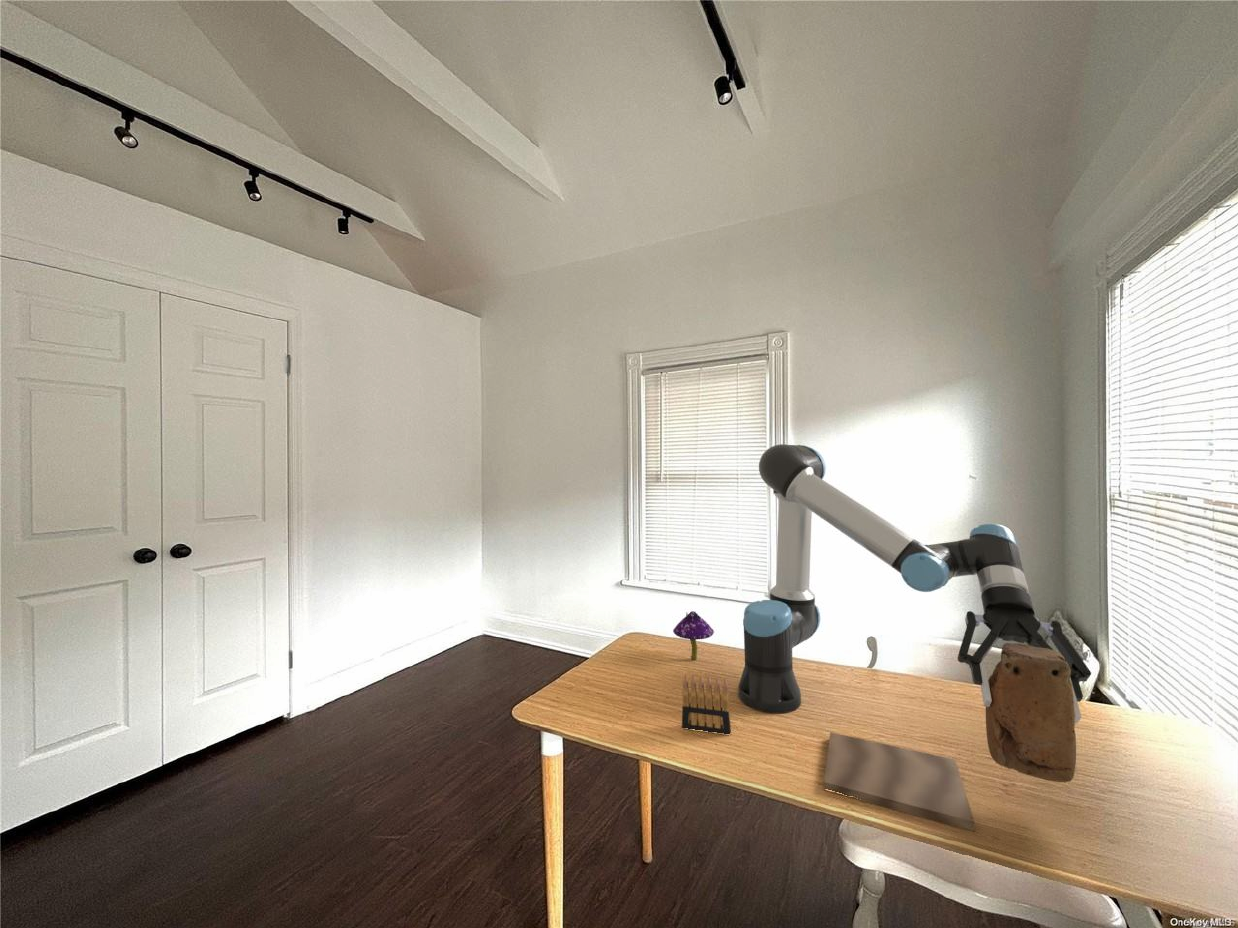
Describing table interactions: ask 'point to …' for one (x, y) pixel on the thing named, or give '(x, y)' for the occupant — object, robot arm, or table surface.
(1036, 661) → the block
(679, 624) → the decorative mushroom
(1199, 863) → the table surface
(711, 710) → the ammunition clip
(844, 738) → the walnut board
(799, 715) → the table surface
